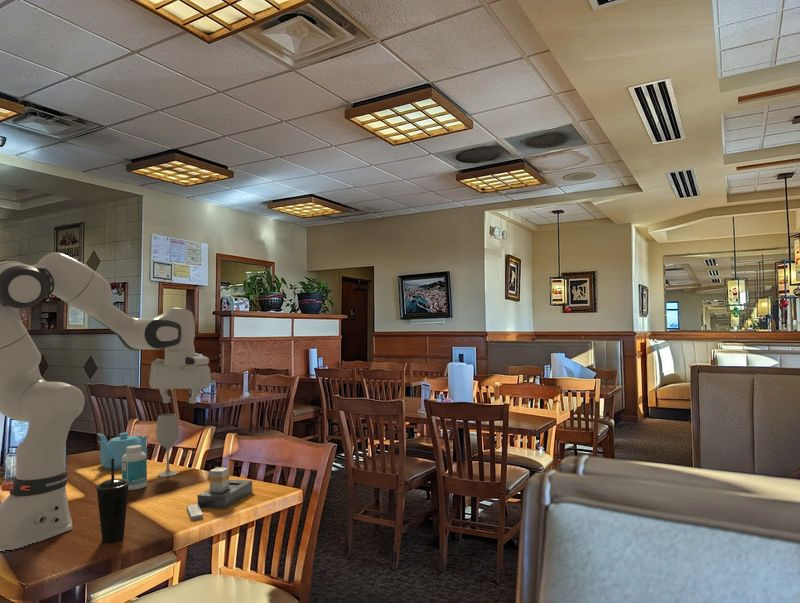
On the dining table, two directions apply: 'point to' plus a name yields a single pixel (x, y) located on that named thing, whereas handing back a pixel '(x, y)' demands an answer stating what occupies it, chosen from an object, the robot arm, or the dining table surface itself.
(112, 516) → the drinking cup
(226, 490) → the small grey carton
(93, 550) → the dining table surface
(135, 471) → the pill bottle
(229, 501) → the socket block
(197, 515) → the light grey bar
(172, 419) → the wineglass
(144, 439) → the teapot
